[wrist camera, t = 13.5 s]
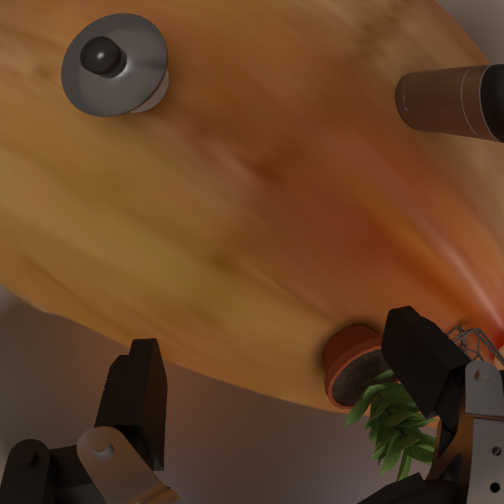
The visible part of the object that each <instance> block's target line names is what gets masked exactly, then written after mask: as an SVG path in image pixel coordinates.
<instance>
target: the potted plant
mask: <svg viewBox="0 0 504 504" xmlns="http://www.w3.org/2000/svg"><path fill="white" fill-rule="evenodd" d="M382 338H383V337H382V336H380V335H379V334H377V333H375V332H374V331H372V330H371V329H369V328H367V327H365V326H361V325H357V326H350V327H347V328H344V329H343V330H341V331H339V332H338V333H336V334H335V335H334V336H333V337H332V338H331V339H330V340H329V342H328V343H327V345H326V346H325V350H324V362H325V371H326V378H325V381H324V385H325V392H326V394H327V396H328V398H329V400H330V401H331V402H332V404H333V405H335V406H337V407H339V408H341V409H352V410H351V411H350V413H349V414H348V417H347V419H346V424H345V425H344V427H345V426H346V425H347V424H351V423H354V422H356V421H358V420H359V419H360V418H361V416H362V415H363V414H364V412H365V411H366V410H367V408H368V406H369V405H370V404H371V410H370V418H369V420H368V421H367V422H366V424H365V425H364V429H367V428H368V427H369V426H370V427H371V430H370V436H369V439H370V441H372V446H373V444H374V442H375V441H376V446H375V452H374V453H373V454H372V455H371V457H370V458H371V459H376V458H378V465H379V462H380V460H381V459H382V458H384V457H385V459H384V462H383V465H382V468H381V477H382V476H383V474H384V473H385V472H387V471H389V470H391V469H392V468H393V467H394V466H395V465H396V463H397V461H398V459H399V457H400V454H401V451H402V450H404V452H403V457H402V461H401V465H400V469H399V472H398V476H397V480H396V481H399V480H401V479H404V478H406V477H407V475H408V472H409V469H410V465H411V460H412V458H414V459H416V460H419V461H421V462H423V463H426V464H428V465H431V464H432V459H433V453H434V447H435V440H436V438H435V437H432V436H429V435H426V434H423V433H421V431H420V430H419V429H418V428H417V427H423V426H425V425H427V424H428V423H429V422H431V421H437V420H435V419H432V418H430V419H428V420H426V419H425V417H424V416H423V414H421V413H416V412H419V411H420V410H419V408H418V407H417V406H416V404H415V403H414V401H413V400H412V398H411V397H410V395H409V394H408V392H407V391H406V390H405V388H404V387H403V385H402V384H400V383H398V382H399V380H398V378H397V377H396V375H395V374H394V372H393V371H392V370H391V368H390V367H389V365H388V364H387V363H386V361H385V360H384V358H383V355H382V351H381V343H382Z"/></svg>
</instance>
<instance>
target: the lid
mask: <svg viewBox="0 0 504 504" xmlns="http://www.w3.org/2000/svg"><path fill="white" fill-rule="evenodd" d="M167 65H168V50H167V46H166V43H165V41H164V38H163V36H162V34H161V33H160V31H159V29H158V28H157V27H156V26H155V25H154V24H153V23H152V22H150V21H149V20H147V19H145V18H143V17H141V16H138V15H134V14H127V13H121V14H113V15H109V16H105V17H103V18H100V19H98V20H96V21H94V22H92V23H91V24H90V25H88V26H87V27H85V28H84V29H83V30H82V31H81V32H80V33H79V34H78V35H77V36H76V37H75V39H74V40H73V41H72V43H71V44H70V46H69V48H68V49H67V52H66V54H65V56H64V60H63V64H62V70H61V79H62V85H63V89H64V91H65V94H66V96H67V97H68V99H69V100H70V102H71V103H72V104H73V105H74V106H75V107H76V108H78V109H79V110H81V111H83V112H85V113H87V114H90V115H93V116H100V117H113V116H119V115H123V114H126V113H129V112H131V111H133V110H135V109H137V108H138V107H140V106H142V105H143V104H144V103H145V102H147V101H148V100H149V99H150V98H151V97H152V96H153V95H154V93H155V92H156V91H157V90H158V88H159V86H160V85H161V83H162V81H163V79H164V77H165V73H166V70H167Z"/></svg>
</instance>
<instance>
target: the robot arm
mask: <svg viewBox="0 0 504 504" xmlns="http://www.w3.org/2000/svg"><path fill="white" fill-rule="evenodd" d="M396 101H397V106H398V110H399V112H400V114H401V116H402V118H403V119H404V121H405V122H406V123H407V124H408V125H409V126H411V127H412V128H414V129H417V130H423V131H431V132H438V133H445V134H453V135H460V136H466V137H472V138H478V139H484V140H490V141H495V142H500V143H504V64H500V65H499V64H498V65H482V66H469V67H458V68H448V69H439V70H431V71H423V72H416V73H411V74H407V75H406V76H404V77H403V78H402V79H401V81H400V82H399V84H398V87H397V91H396ZM381 351H382V355H383V358H384V360H385V361H386V363H387V364H388V365H389V367H390V368H391V370H392V371H393V372H394V374H395V375H396V377H397V378H398V380H399V381H400V382H401V384H402V385H403V387H404V388H405V390H406V391H407V392H408V394H409V395H410V397H411V398H412V400H413V401H414V403H415V404H416V406H417V407H418V408H419V410H420V411H421V413H422V414H423V416H424V417H425V419H426V420H428V419H430V418H433V417H435V416H437V415H439V417H440V418H441V419H440V421H439V423H438V426H437V434H436V440H435V447H434V453H433V459H432V464H431V468H430V470H429V473H428V475H427V477H426V479H425V480H423V478H422V477H421V475H420V473H419V472H418V473H416V474H413V475H411V476H409V477H406V478H404V479H401V480H399V481H396V482H394V483H391V484H389V485H386V486H385V487H383V488H382V489H380V490H379V491H377V492H376V493H374V494H372V495H371V496H369V497H368V498H366V499H364V500H363V501H361V502H359V503H358V504H504V370H498V369H497V368H496V367H495V366H494V365H492V364H491V363H489V362H486V361H480V360H477V361H473V362H472V361H471V360H470V359H469V358H468V357H467V356H466V355H465V353H464V352H463V351H462V350H461V349H460V348H459V347H458V346H457V345H456V344H455V343H454V342H453V341H452V340H451V339H449V337H448V336H447V335H446V334H445V333H442V330H441V329H440V328H439V327H438V326H437V325H436V324H435V323H434V322H432V321H430V320H428V319H426V318H424V317H423V316H422V317H421V316H420V315H419V314H418V313H417V312H416V311H415V310H414V309H413V308H412V307H411V306H405V307H400V308H395V309H391V310H390V311H389V313H388V316H387V320H386V325H385V330H384V334H383V338H382V343H381ZM104 388H105V390H104V391H103V394H102V398H101V402H100V406H99V410H98V414H97V418H96V422H95V426H94V428H93V429H91V430H89V431H87V432H86V433H84V435H82V436H81V438H80V439H79V441H78V444H76V445H73V446H68V447H63V448H58V449H51V450H49V449H48V448H47V447H46V446H45V444H43V443H42V442H40V441H39V440H35V439H27V440H23V441H21V442H19V443H17V444H16V445H15V446H14V447H13V448H12V449H11V451H10V453H9V456H8V459H7V463H6V466H5V470H4V474H3V478H2V482H1V486H0V504H187V503H186V502H185V501H184V500H183V499H182V498H181V497H180V496H179V495H178V494H177V493H176V492H175V491H174V490H173V489H171V488H170V487H167V486H166V485H165V484H164V483H163V482H162V481H161V480H160V479H159V478H158V477H157V476H156V474H155V473H154V472H153V471H163V470H164V444H165V421H166V404H167V377H166V372H165V369H164V365H163V361H162V357H161V353H160V349H159V345H158V342H157V339H156V338H150V339H134V340H133V341H132V345H131V349H130V353H129V355H120V356H118V358H117V359H116V360H115V361H114V362H113V363H112V365H111V366H110V369H109V373H108V376H107V380H106V383H105V387H104Z"/></svg>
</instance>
